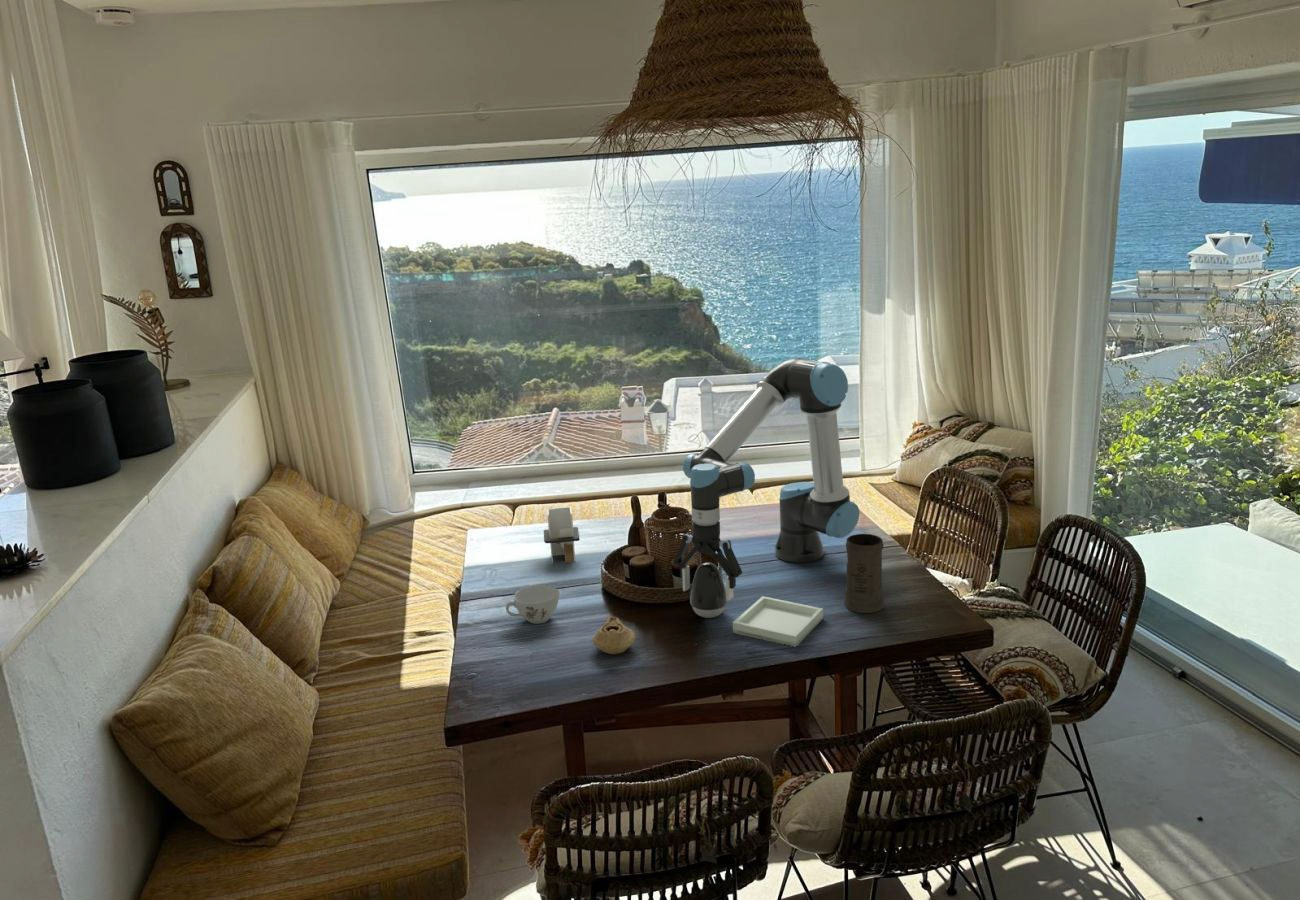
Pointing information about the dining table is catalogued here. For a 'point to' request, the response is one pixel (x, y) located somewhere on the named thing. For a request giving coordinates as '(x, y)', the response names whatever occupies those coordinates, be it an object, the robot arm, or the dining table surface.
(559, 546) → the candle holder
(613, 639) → the oil lamp
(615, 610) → the dining table surface
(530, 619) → the teacup
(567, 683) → the dining table surface
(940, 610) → the dining table surface
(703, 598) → the dark grey rounded piece
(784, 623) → the tray
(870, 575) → the beer stein
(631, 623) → the dining table surface
